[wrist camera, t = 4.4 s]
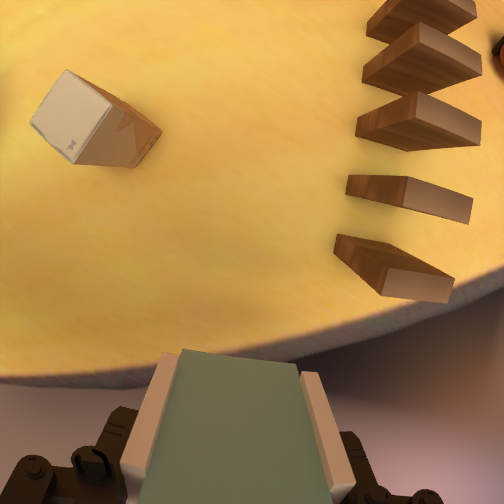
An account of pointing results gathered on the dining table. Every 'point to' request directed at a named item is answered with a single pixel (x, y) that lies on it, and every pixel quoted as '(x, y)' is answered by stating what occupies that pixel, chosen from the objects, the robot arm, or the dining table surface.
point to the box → (92, 125)
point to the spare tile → (235, 436)
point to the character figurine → (500, 50)
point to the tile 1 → (393, 270)
